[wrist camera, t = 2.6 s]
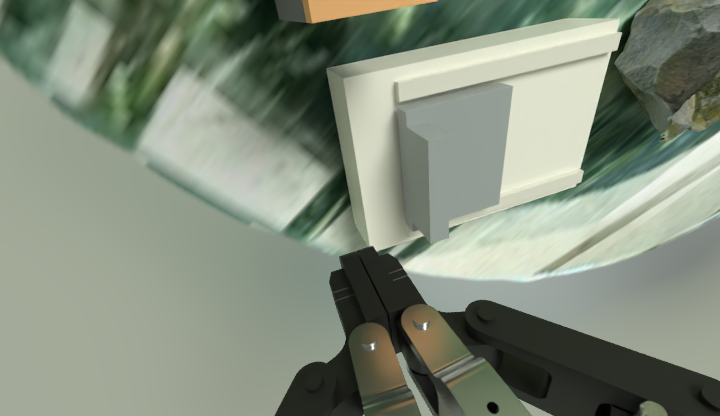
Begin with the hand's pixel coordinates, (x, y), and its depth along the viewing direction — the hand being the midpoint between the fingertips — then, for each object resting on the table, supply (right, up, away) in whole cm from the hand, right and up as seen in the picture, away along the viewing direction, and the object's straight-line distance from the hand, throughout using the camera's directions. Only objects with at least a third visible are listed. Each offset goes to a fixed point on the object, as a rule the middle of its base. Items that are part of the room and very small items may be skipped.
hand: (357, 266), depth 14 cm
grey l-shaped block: (+6, +6, +7) cm, 11 cm away
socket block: (+7, +9, +11) cm, 16 cm away
